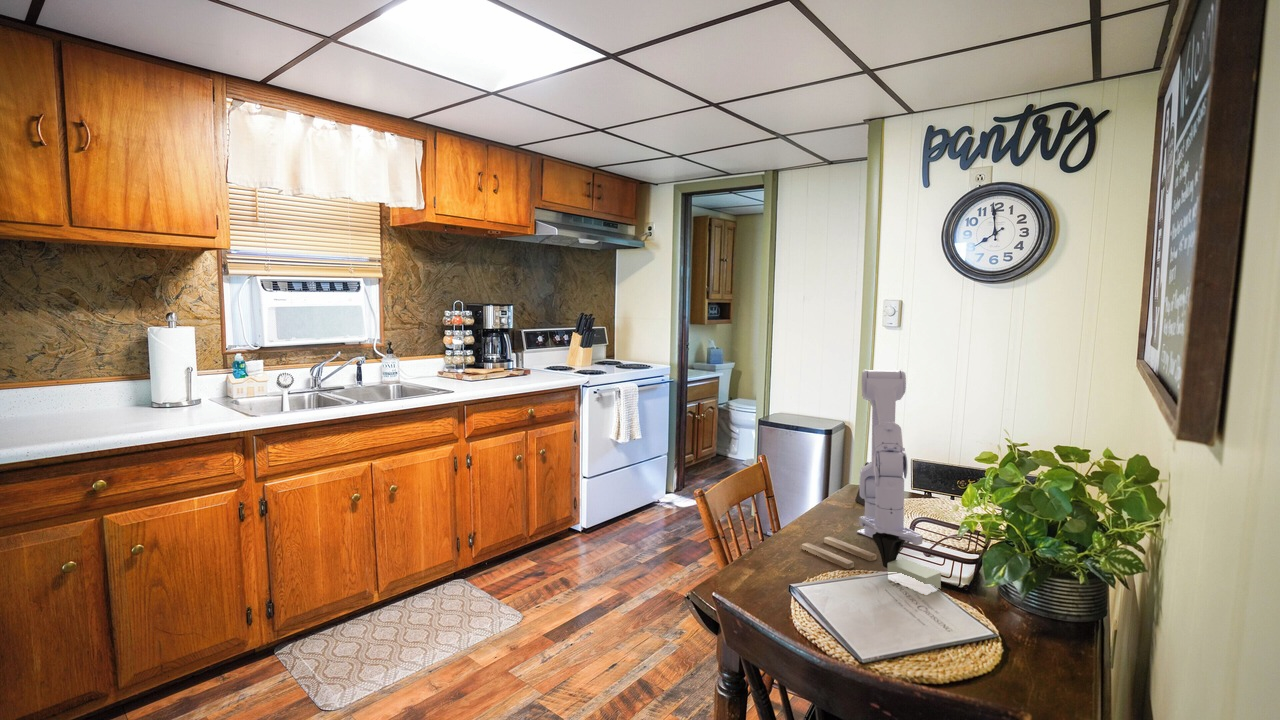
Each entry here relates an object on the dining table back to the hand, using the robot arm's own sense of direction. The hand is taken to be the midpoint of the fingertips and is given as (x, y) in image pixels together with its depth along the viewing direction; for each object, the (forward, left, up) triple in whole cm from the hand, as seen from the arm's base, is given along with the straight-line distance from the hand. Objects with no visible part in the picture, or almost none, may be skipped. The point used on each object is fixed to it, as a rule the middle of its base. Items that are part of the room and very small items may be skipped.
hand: (888, 566), depth 131 cm
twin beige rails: (0, -14, -2) cm, 14 cm away
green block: (0, +6, -2) cm, 6 cm away
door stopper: (-40, -35, -2) cm, 53 cm away
